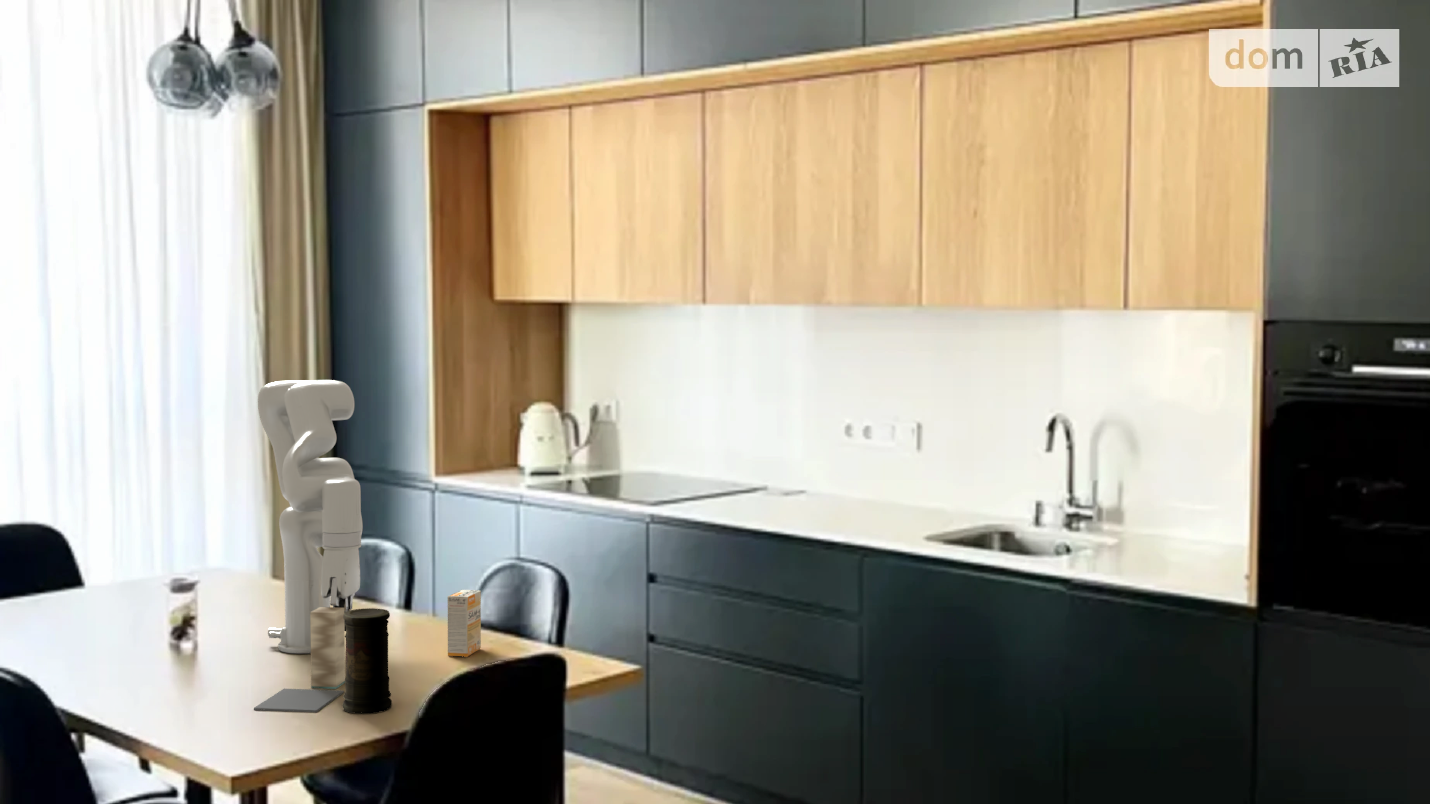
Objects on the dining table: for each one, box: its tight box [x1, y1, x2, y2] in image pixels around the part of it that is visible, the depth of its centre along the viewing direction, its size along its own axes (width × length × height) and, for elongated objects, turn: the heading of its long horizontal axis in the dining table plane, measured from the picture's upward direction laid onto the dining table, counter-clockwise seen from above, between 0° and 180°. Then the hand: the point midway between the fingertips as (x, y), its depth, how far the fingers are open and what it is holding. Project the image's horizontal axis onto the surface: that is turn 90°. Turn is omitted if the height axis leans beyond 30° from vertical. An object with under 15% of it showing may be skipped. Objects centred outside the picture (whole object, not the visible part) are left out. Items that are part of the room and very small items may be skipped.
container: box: [341, 607, 393, 715], centre depth 275 cm, size 9×9×18 cm
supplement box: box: [447, 589, 482, 658], centre depth 318 cm, size 8×5×13 cm, turn 168°
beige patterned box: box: [310, 606, 346, 690], centre depth 291 cm, size 5×5×15 cm
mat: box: [253, 688, 345, 713], centre depth 279 cm, size 12×14×1 cm
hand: (343, 630), depth 299 cm, fingers closed
